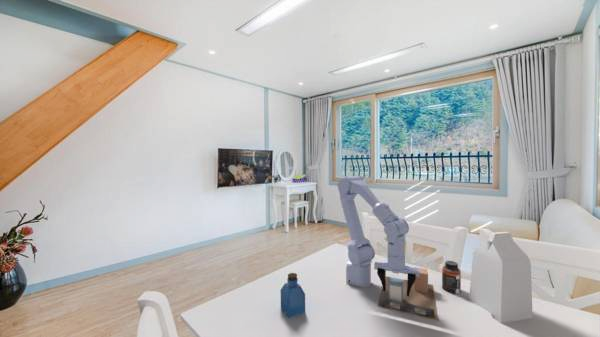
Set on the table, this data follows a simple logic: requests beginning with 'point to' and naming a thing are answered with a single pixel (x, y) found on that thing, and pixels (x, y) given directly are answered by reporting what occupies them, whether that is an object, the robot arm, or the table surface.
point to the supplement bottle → (451, 277)
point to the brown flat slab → (411, 301)
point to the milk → (502, 279)
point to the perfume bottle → (292, 296)
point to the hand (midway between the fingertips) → (396, 292)
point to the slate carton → (396, 289)
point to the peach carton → (421, 281)
